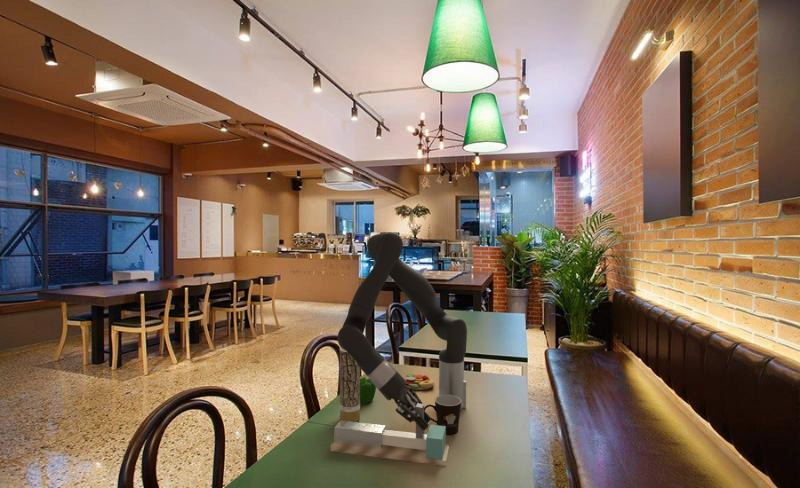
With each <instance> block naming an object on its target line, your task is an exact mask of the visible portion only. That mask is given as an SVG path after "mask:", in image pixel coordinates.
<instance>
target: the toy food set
mask: <svg viewBox="0 0 800 488" xmlns="http://www.w3.org/2000/svg"><path fill="white" fill-rule="evenodd" d="M405 380H406V384H405V386H404V387H405V388H407V389H410V388H413V390H414V391H425V390H429V389H431V388H432V387H434V386H435V381H433V380H432V379H430V378H429V376H428V375H422V374H414V373H407V374H406V379H405Z"/></svg>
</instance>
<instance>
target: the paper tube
mask: <svg viewBox="0 0 800 488" xmlns="http://www.w3.org/2000/svg"><path fill="white" fill-rule="evenodd" d="M360 372H361V368H360V367H359V366H358V364H357V362H356V361H355V359H354V358H353V357H352V356H351V355H350V354H349V353H348V352H347V351H346V350H344V349H342V348H341V347H340V346H339V409H340V410H339V411H340V412H339V415H340V416H339V421H340V420H341V421H350V422H359V420H360V419H361V403H360V378H361V373H360Z"/></svg>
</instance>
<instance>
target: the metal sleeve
mask: <svg viewBox="0 0 800 488" xmlns="http://www.w3.org/2000/svg"><path fill="white" fill-rule="evenodd" d="M333 429H334V430H333V431H334V432H333V433H334V434H333V435H334V436H333V439H334V441H333V442H334V443H337V444H345V445H352V446H360V447H368V448H376V449H381V448H382V447H383V445H382V432H383V431H384V430H386V424H385V425H383V424H375V423H367V422H359V421H357V422H350V421H341V420H340V419H339V422H338V423H337V424H336V425H335V426H334V428H333Z"/></svg>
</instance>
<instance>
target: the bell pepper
mask: <svg viewBox="0 0 800 488" xmlns="http://www.w3.org/2000/svg"><path fill="white" fill-rule="evenodd" d="M376 389H377V388H376V387H375V385H374V384H373V383H372V382H371V380H370V379H369V378H366V375H365V376H364V375H363V376H361V377H360V404H368V403H369V402H372V401H373V400H374V399H375V395H376Z"/></svg>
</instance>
